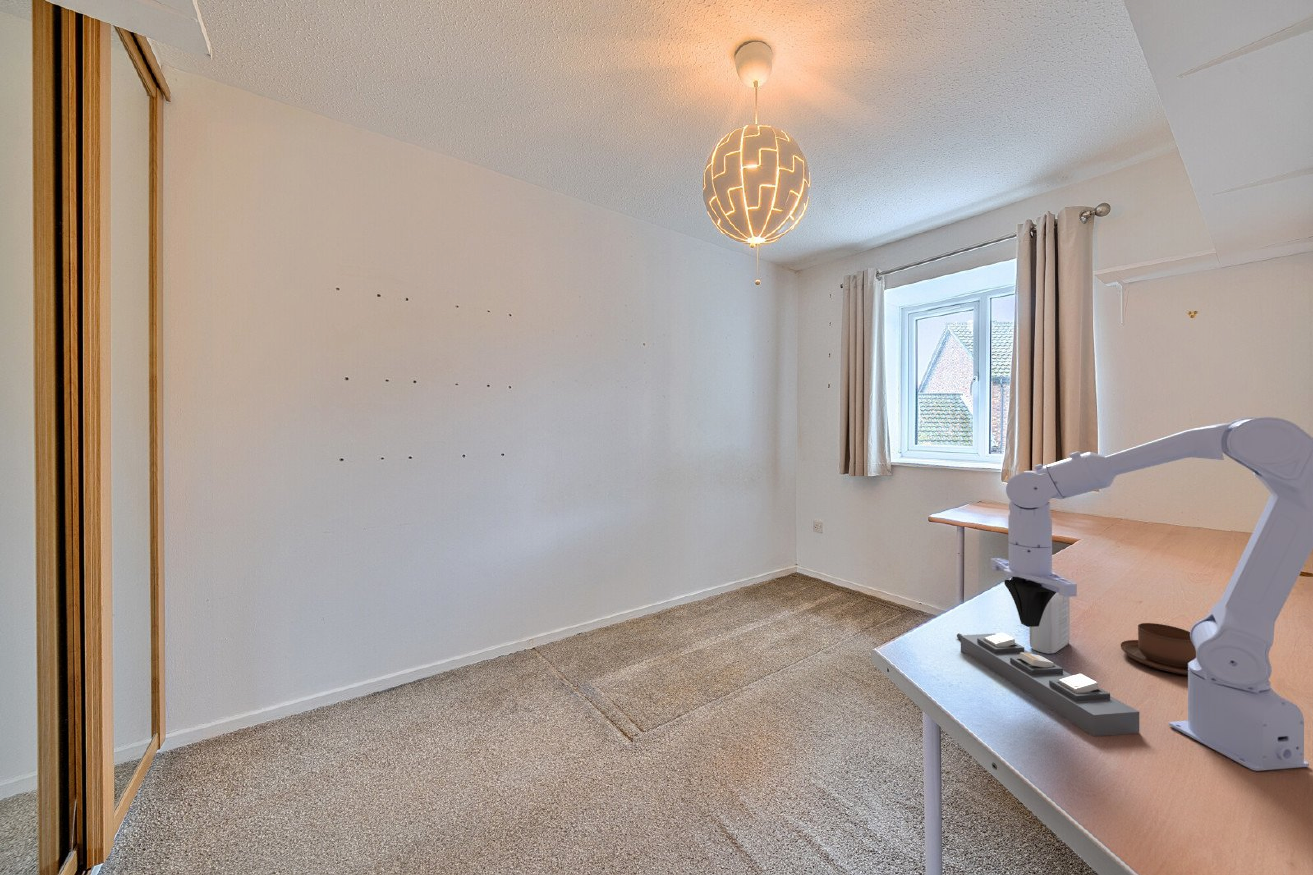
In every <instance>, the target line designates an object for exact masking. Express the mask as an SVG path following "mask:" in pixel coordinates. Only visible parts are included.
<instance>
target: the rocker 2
mask: <svg viewBox="0 0 1313 875" xmlns="http://www.w3.org/2000/svg"><path fill="white" fill-rule="evenodd" d="M1059 681H1060V684H1061V685H1062V686H1064V687H1066V688H1068V689H1069V690H1071V691H1073V692H1075V693H1086V692H1089V691H1093V690H1096V689H1098V687H1099V686H1098V685H1099V684H1098V682H1097V681H1095V680H1093V679H1091V678H1090V677H1088V676H1086V675H1084V674H1082V673H1078V674H1074V675H1072V676H1070V677H1067V678H1063V679H1060V680H1059Z"/></svg>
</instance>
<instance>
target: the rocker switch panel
mask: <svg viewBox="0 0 1313 875" xmlns="http://www.w3.org/2000/svg"><path fill="white" fill-rule="evenodd" d="M996 634H997V633H995V632H993V633H980V634H979V633H977V634H961V633H957V634H956V638H957V639H959V640H960V652H962V653H963V654H965V655H967V656H968V657H970V658H972V659H973V660H975V661H976V662H977V663H979V664H981V665H982V666H984V667H985V668H987V669H989V670H990V672H993V673H994V674H996V675H998V676H999V677H1000V678H1002V679H1004V680H1006V681H1007V682H1009V683H1010V684H1012V685H1013V686H1015V687H1016V688H1018V689H1019V690H1021V691H1023V692H1024V693H1025V694H1027V695H1029V696H1031V697H1032V698H1033V699H1034V700H1037V701H1038V702H1040V703H1041V704H1042V705H1044V706H1045V707H1047V708H1049V709H1050V710H1052V711H1054V712H1056V714H1058V715H1059V716H1061V717H1063V718H1064V719H1066V720H1068V721H1069V722H1071V723H1072V724H1073V725H1075V726H1077V727H1078V728H1080V729H1082V730H1083V731H1084V732H1086V733H1088V735H1091V736H1092V737H1104V736H1114V735H1116V736H1117V735H1130V734H1139V733H1140V711H1139V710H1138V709H1135V708H1133V707H1131V706H1129V705H1128V704H1126V703H1124V702H1122V701H1120V700H1119V699H1117V698H1115V697H1113V696H1111V693H1110V692H1108V691H1107V690H1105V689H1102V688H1100V687H1099V686H1098V689H1096V690H1093V691H1089V692H1086V693H1075V692H1073V691H1071V690H1069V689H1068V688H1066V687H1064V686H1062V685H1061V684H1060V681H1059V680H1060V679H1063V678H1067V677H1070V676H1073V675H1072V674H1070V673H1068V672H1067V671H1064V668H1063V667H1061V666H1059V665H1057V664H1056V663H1054V664H1053V667H1038V666H1032V665H1031V664H1029V663H1027V662H1025V661H1024V660H1022V659H1020V658H1019V657H1020V652H1022V653H1028V654H1033V653H1032V652H1030V651H1028V650H1026V649H1025V647H1024V646H1023V645H1020V644H1019V643H1016V642H1015V644H1014V645H1010V646H1007V647H995V646H993V645H991V644H989V643H988V642H986V641H985V637H989V636H992V635H996Z"/></svg>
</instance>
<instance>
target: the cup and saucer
mask: <svg viewBox="0 0 1313 875" xmlns="http://www.w3.org/2000/svg"><path fill="white" fill-rule="evenodd" d="M1120 649H1121V650H1122V652H1124V653H1125V654H1126V655H1127V656H1128V657H1130V659H1133V660H1134V661H1136V662H1139V663H1141V664H1143V665H1144V666H1145V665H1146V666H1148V667H1151V668H1154V669H1156V670H1160V671H1163V672H1168V673H1172V674H1177V675H1184V676H1188V663H1189V662H1190V661H1192V660H1194V659H1195V658H1196V650H1195V646H1194V645H1193V643H1192V641H1191V638H1190V631H1188V630H1186V629H1183V628H1179V627H1176V626H1172V625H1168V624H1161V623H1154V622H1151V623H1150V622H1144V623H1139V624H1138V625H1137V639H1128V640H1124V641H1122V642H1120Z"/></svg>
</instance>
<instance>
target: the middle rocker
mask: <svg viewBox="0 0 1313 875" xmlns="http://www.w3.org/2000/svg"><path fill="white" fill-rule="evenodd" d="M1019 658H1020V659H1022V660H1024V661H1025V662H1027V663H1029V664H1031V665H1032V666H1038V667H1053V664H1055V662H1053V661H1051V660H1049V659H1047V658H1045V657H1044V656H1042V655H1039V654H1033V653H1032V654H1028V653H1022V652H1020V657H1019Z"/></svg>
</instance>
